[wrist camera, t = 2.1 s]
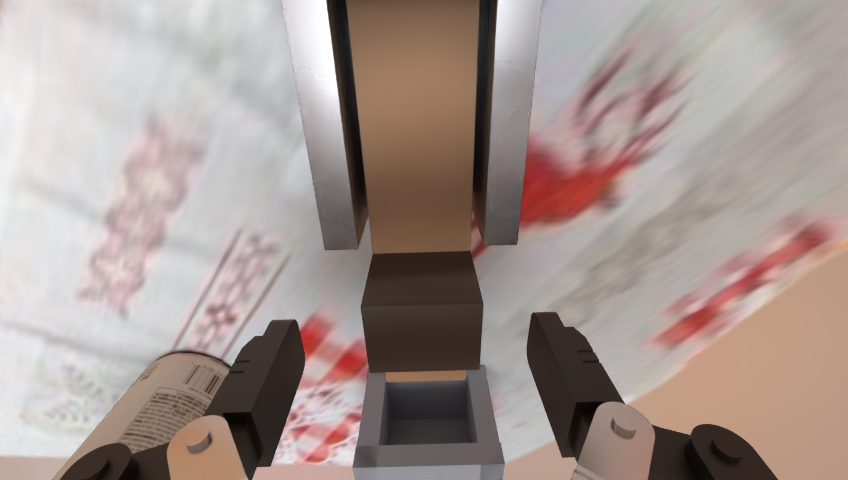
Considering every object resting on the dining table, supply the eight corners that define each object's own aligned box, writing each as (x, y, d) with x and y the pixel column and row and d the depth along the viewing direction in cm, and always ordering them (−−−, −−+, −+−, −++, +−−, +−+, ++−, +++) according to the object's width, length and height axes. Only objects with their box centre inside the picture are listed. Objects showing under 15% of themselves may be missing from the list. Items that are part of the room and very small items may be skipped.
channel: (315, -120, 13) (214, -282, 7) (505, -126, 13) (588, -295, 7) (353, 189, 19) (318, 264, 12) (487, 185, 19) (523, 258, 12)
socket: (484, 365, 25) (504, 464, 19) (481, 418, 28) (497, 519, 22) (368, 368, 25) (352, 468, 19) (375, 421, 28) (363, 523, 22)
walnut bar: (352, -114, 13) (279, -292, 6) (467, -118, 13) (520, -300, 6) (392, 328, 22) (379, 449, 15) (458, 326, 22) (474, 446, 15)
